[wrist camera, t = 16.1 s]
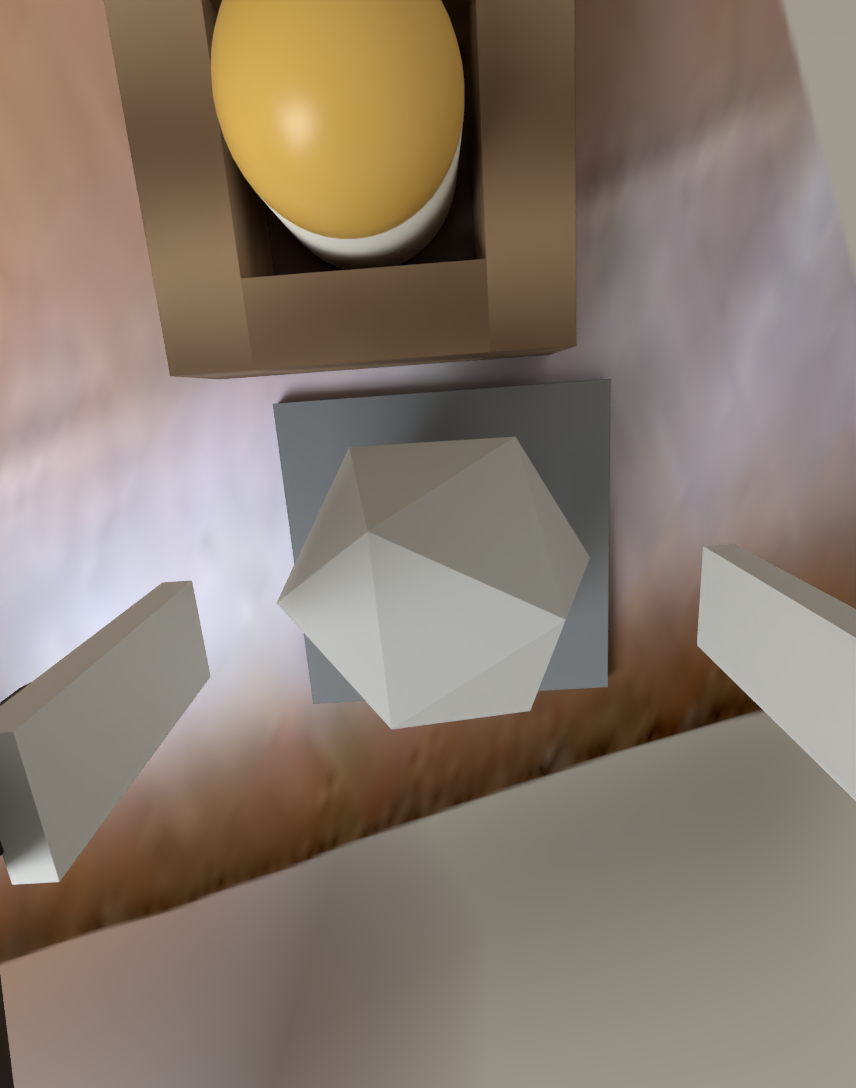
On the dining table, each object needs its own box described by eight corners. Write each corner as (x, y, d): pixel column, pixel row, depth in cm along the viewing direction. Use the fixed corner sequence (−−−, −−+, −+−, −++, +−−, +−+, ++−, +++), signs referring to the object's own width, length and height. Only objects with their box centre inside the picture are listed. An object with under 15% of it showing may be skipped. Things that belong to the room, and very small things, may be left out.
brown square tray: (156, -20, 18) (79, -135, 14) (542, -57, 18) (573, -185, 14) (219, 379, 21) (170, 376, 17) (549, 354, 21) (576, 345, 17)
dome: (256, 67, 18) (134, -156, 10) (451, 49, 17) (463, -190, 10) (283, 278, 19) (192, 209, 12) (462, 264, 19) (480, 185, 12)
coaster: (277, 403, 21) (272, 403, 21) (605, 379, 21) (610, 379, 20) (316, 696, 24) (313, 703, 24) (603, 679, 24) (607, 686, 23)
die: (315, 425, 21) (168, 655, 15) (531, 324, 16) (446, 607, 10) (437, 568, 26) (363, 791, 20) (636, 524, 21) (623, 806, 15)
